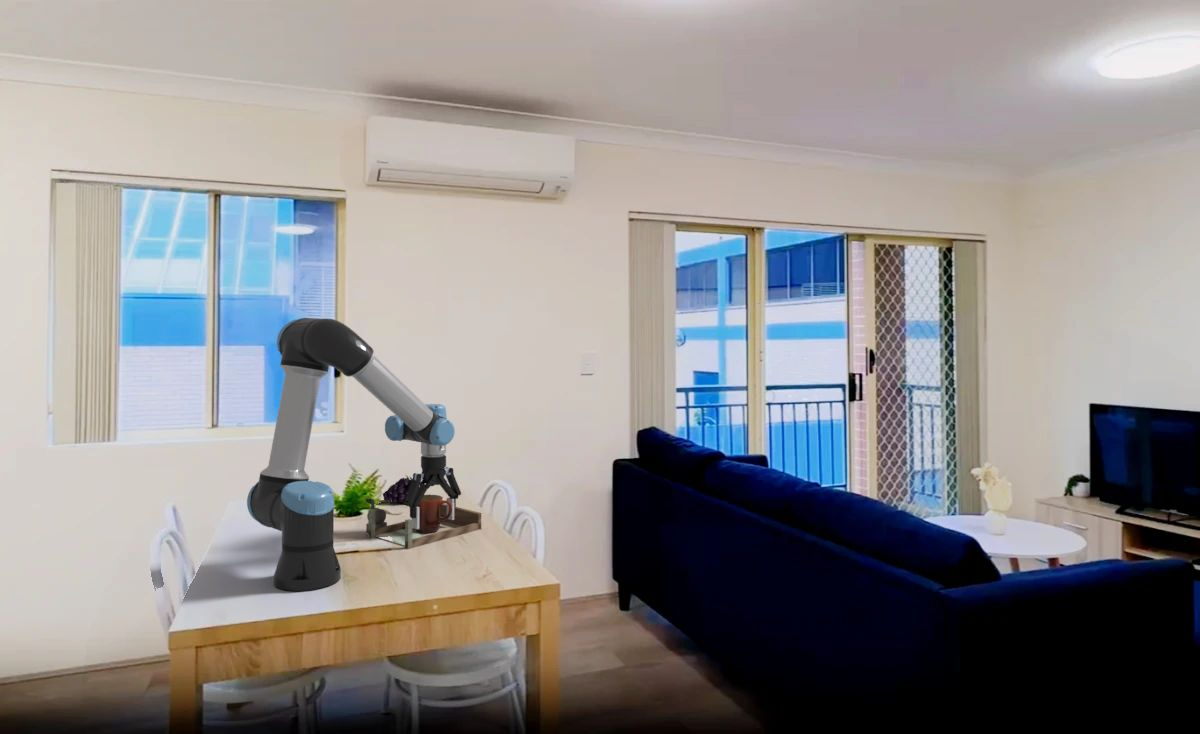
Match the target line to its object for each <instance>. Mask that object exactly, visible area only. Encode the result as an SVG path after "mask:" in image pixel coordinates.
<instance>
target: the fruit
mask: <svg viewBox="0 0 1200 734" xmlns="http://www.w3.org/2000/svg"><path fill="white" fill-rule="evenodd" d="M412 481H413V477H411V476H408V475H405V478H404V477H401V478H400V479H399V480H398V481H396V482H395V484H392V485H390V486H389V487H388V488H387V490H385V491H384V492H383V493H382V497H383V501H384V502H388V501H391V500H392V502H391V504H394V503H398V504H404V502H405V499H406V496H407V494H408V491H409V489H410V486H411V483H412Z"/></svg>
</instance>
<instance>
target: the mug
mask: <svg viewBox="0 0 1200 734" xmlns="http://www.w3.org/2000/svg"><path fill="white" fill-rule="evenodd" d="M442 504H446V505H447V504H448V505H449V512H448V515H447V516H446V517H441V516H440V506H441V505H442ZM417 507H419V529H415V530H416V532H418V533H419V534H434V533H437V532H439V530H440V526H441V522H444V520H446V519H448V518H449V517H450V515H451V513H452V503H451V502H450V501H447V499H446V500H445V499H444V500H443V496H441V495H439V494H424V496H423V497H422V499H421V501H420V502H419V504H418V506H417Z"/></svg>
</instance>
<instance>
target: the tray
mask: <svg viewBox="0 0 1200 734" xmlns="http://www.w3.org/2000/svg"><path fill="white" fill-rule="evenodd" d="M365 503H368V504H369V505H370V509H368V512H367V516H366V517H367V521H368V523H366V525H365V526H366V527H365V528H366V529H365V530H366V531H365V533H368V534H367V537H368V536H370V537H369V538H376V537H388V536H390V537H392V538H393V544H396V545H398V546H403V547H404V549H407V550H409V549H412V548H416V547H421V546H424V545H427V544H431V543H435V542H438V541H442V540H447V539H450V538H454V537H457V536H460V535H465V534H467V533H470V532H471V533H472V532H475V531H479V530H481V529H482V512H479V511H476V510H475V511H474V510H470V509H468V508H467V509H466V508H462V507H457V506H456V507H455V508H454V520H450V519H446V520H444V521H445V522H447V523H452V524H455V525H459V526H457V527H455V528H449V529H446V530H442V531H437V532H434V533H430V534H428V535H424V534H422V533H417V532H413V528H412V518H411V519H410V518H408V519H405V520H404V521H401V522H397V523H393V524H392V523H391V524H388V522H387V521H386V518H387V512H386V511H385V510H384V509H381V508H377V507H375V499H373V498H369V497H366V498H365ZM440 516H441V517H446V516H447V504H442V505H441V506H440ZM444 521H443V522H444ZM478 529H479V530H478Z"/></svg>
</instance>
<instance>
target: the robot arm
mask: <svg viewBox="0 0 1200 734" xmlns="http://www.w3.org/2000/svg"><path fill="white" fill-rule="evenodd" d="M276 347H277V351H278V352H279V353H280V356H281V358H280V359H281V360H280V368H281V369H282V370H283V372H284V379H283V384H282V390H281V396H280V400H279V407H278V412H277V416H276V417H277V418H276V422H275V427H274V428H275V429H274V433H273V439H272V443H271V444H272V445H271V450H270V454H269V461H268V465H267V466H266V468H264V469H263V470H262V471H260V473H259V478H258V481H257V482H255V485H253V486H252V487H251V488H250V490H249V492H248V495H247V499H246V507H247V510H248V512H249V514H250V517H252V519H253V520H255V521H256V522H258V523H259V524H260V525H262V526H263V527H267V528H271V529H273V530H277V531H279V532H281V554H280V557H279V559H278V563H277V565H276V568H275V571H274V574H273V586H274V587H275V588H277V589H280V590H284V591H291V592H292V591H293V592H300V591H312V590H318V589H319V590H320V589H323V588H326V587H330V586H333V585H334V584H336V583H339V581H340V580H341V578H342V570H341V569H342V568H341V565H340V562H339V559H338V557H337V554H336V550H335V548H334V547H335V546H334V521H335V520H334V517H335V516H334V515H335V514H334V511H335V509H334V508H335V497H334V491H333V488H331V486H329V485H328V484H326V483H324V482H321V481H312V480H310V476H309V475H308V473H307V472H306V471H305V467H306V462H307V456H308V449H309V445H310V438H311V433H312V428H313V421H314V417H315V411H316V405H317V398H318V394H319V390H320V385H321V384H320V383H321V379H322V378H324V377H325V376H326V375H328V373H329V367H332V368H335V369H336V370H337V371H340V373H342V375H344V376H345V377H353V378H354V380H355V381H357V382H358V383H359V384H360V385H361V386H362V387H364V388H365V389H366V390H367V391H368V392H369V393H371V395H373V396H374V397H375V398H376V399H377V400H378V401H379V402H381V403H382V404H383V405H384V406H385V407H386V408H387V409H388V410H389V411H390V412H392V413H393V414H392V415H390V416H388V417H387V419H386V420H385V422H384V432H385V435H386V437H387V438H388V440H390V441H394V442H395V441H398V442H401V441H411V442H416V443H417V442H418V443H420V454H421V456H420V467H421V473H416V472H414V473H413V474H412V479H413V481H412V483H411V486H410V489H409V491H408V494H407V496H406V499H405V502H403V505H404V506H406V507H409V519H410V518H411V520H412V529H415V530H416V529H419V507H417V506H418V504H419V502H420V501H421V499H422V497H423V496H424V495H426V492H427V490H428V489H430V487H434V486H440V487H441V488H442V490H443V491H444V492H445V494H446V495H447V496H448V497H447V498H446V501H450V502H451V503H452V513H451V515H450V517H449V518H448V519H450V520H454V508H455V507H457V503H456V500H457V499H459V496H461V495H462V492H461V489H460V487H459V485H458V482H457V480H456V477H455V475H454V468H452V467H448V466H447V456H446V453H447V445H448V444H450V443H451V442H452V441H453V439H454V437H455V432H456V431H455V426H454V423H453V422H452V421H451V420H450V419H448V418H447V409H446V406H445V405H443V404H440V403H438V404H437V403H429V404H427V403H426V404H425V403H424V401H422V400H421V399H420V398H419V397H418V396H417V395H416V394H415V393H414V392H413V391H412V390H411V389H410V388H408V387H407V385H405V383H404V382H402V381H401V380H400V379H399V378H398V377H397V376H396V375H395V374H394V373H393V372H392V371H391V370H390V369H389V368H388V367H387V366H386V365H385V364H383V362H381V360H380V359H378V358H377V356H375V350H374V349H373V347H371V346H370V344H368V342H366V340H364V339H363V338H362V337H361V336H359V334H357V333H356V332H355V331H354V330H352V329H351V328H350V327H349V326H348V325H346V324H345V323H344V322H341V321H339V320H336V319H333V318H328V317H327V318H326V317H325V318H316V317H301V318H297V319H292V320H291V321H288V322H287V323H285V324H284V325H283V326H282V328H281V329H280V330H279V333H278V334H277V338H276ZM445 477H446V478H445ZM446 505H447V515H448V512H449V505H448V504H446Z"/></svg>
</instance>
